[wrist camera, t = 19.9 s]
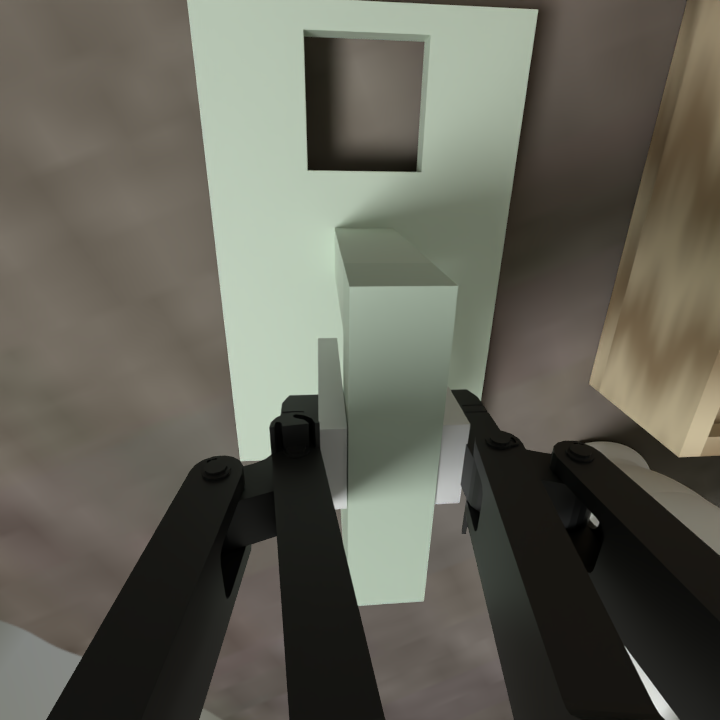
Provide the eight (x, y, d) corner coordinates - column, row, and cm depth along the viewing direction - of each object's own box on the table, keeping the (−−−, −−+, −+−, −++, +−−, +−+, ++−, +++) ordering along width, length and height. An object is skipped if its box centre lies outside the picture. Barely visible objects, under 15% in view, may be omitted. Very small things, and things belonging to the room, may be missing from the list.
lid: (193, 1, 16) (7, -238, 6) (526, 17, 17) (795, -167, 7) (243, 449, 24) (194, 642, 14) (467, 441, 25) (561, 614, 15)
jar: (691, 441, 28) (1043, 704, 15) (613, 558, 32) (833, 853, 18) (545, 409, 26) (794, 680, 12) (479, 538, 30) (615, 852, 16)
